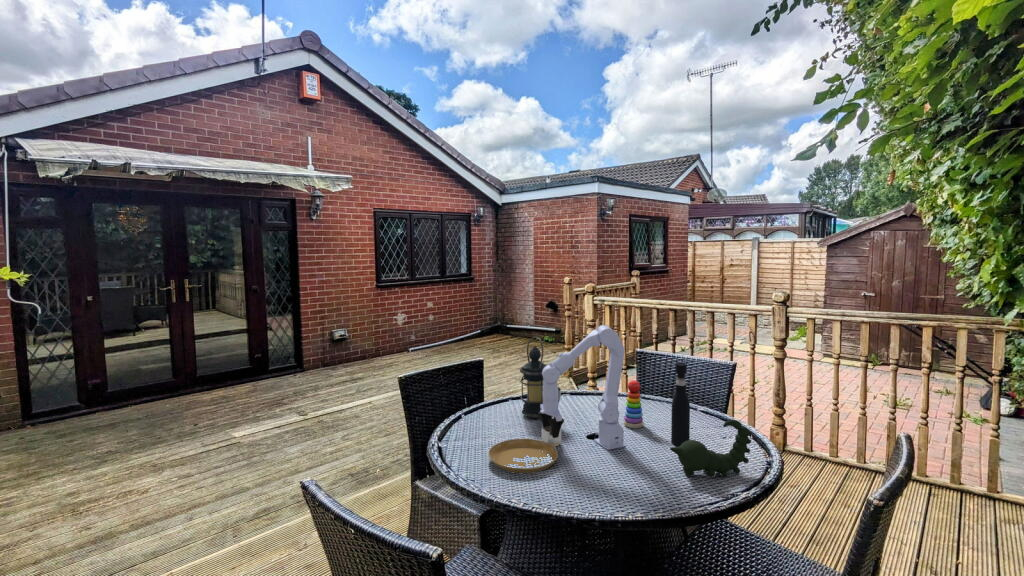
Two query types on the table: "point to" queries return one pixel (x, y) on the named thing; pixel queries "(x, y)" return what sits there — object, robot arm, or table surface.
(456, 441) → the table surface
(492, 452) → the plant saucer
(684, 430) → the wine bottle
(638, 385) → the stacking toy
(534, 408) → the lantern
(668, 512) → the table surface
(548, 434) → the collar
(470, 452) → the table surface
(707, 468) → the toy figurine
